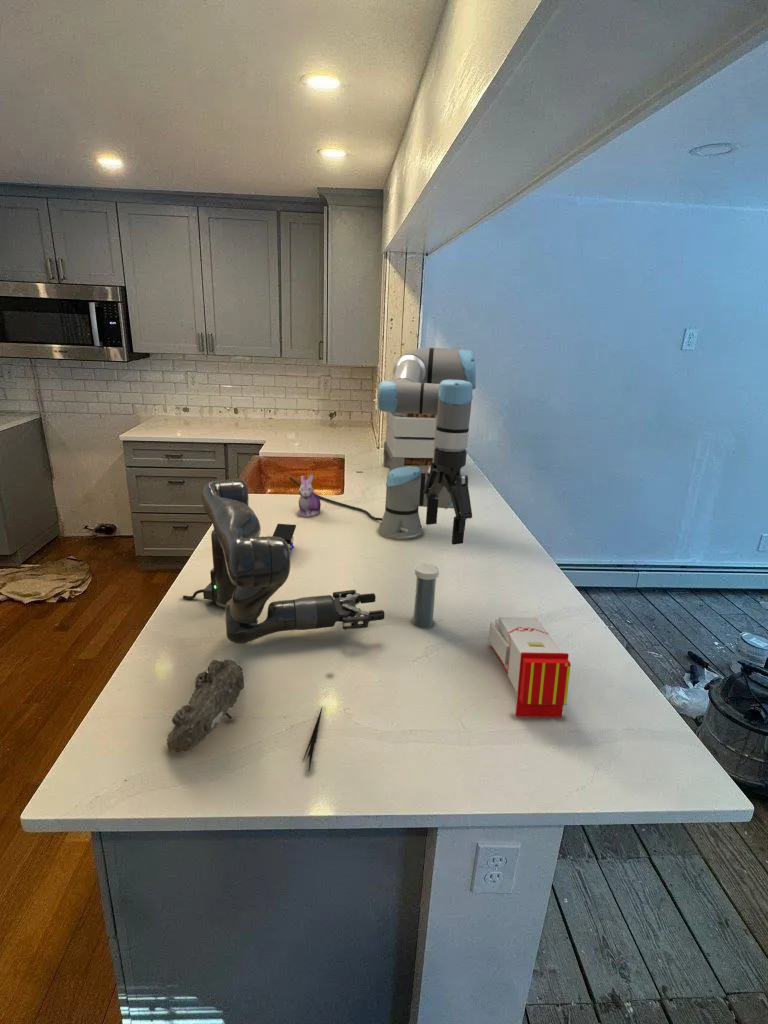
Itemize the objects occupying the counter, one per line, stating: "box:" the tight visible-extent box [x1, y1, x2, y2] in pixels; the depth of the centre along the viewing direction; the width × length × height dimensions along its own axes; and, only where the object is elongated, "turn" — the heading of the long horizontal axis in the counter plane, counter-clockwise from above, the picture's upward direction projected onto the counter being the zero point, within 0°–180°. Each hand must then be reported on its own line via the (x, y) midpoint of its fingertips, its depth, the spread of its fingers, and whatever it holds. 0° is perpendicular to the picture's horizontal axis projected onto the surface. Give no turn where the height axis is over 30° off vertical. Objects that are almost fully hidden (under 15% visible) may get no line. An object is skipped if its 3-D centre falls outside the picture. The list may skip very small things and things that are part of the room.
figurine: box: [298, 474, 322, 518], centre depth 213 cm, size 9×10×15 cm
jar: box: [412, 575, 437, 628], centre depth 142 cm, size 5×5×15 cm
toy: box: [487, 616, 572, 718], centre depth 123 cm, size 12×13×30 cm
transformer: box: [383, 412, 436, 472], centre depth 268 cm, size 34×33×41 cm
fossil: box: [166, 658, 245, 754], centre depth 106 cm, size 22×10×15 cm
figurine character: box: [272, 523, 297, 555], centre depth 179 cm, size 7×8×15 cm
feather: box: [301, 673, 332, 771], centre depth 108 cm, size 2×28×2 cm
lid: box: [414, 563, 440, 580], centre depth 139 cm, size 6×6×2 cm
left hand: (379, 605), depth 138 cm, fingers open, 8 cm apart
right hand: (443, 533), depth 139 cm, fingers open, 13 cm apart
